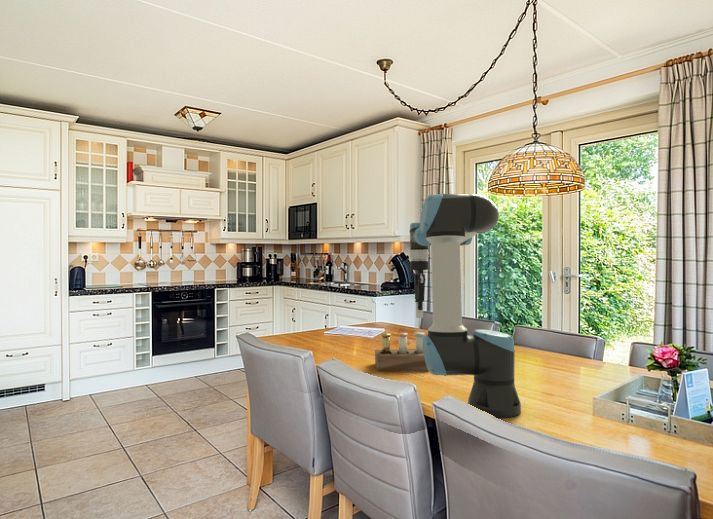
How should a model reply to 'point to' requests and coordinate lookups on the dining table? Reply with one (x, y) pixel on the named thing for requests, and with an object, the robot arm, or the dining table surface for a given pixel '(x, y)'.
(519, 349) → the dining table surface
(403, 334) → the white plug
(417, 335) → the grey plug
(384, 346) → the brass plug
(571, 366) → the dining table surface
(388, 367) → the brown wooden block
